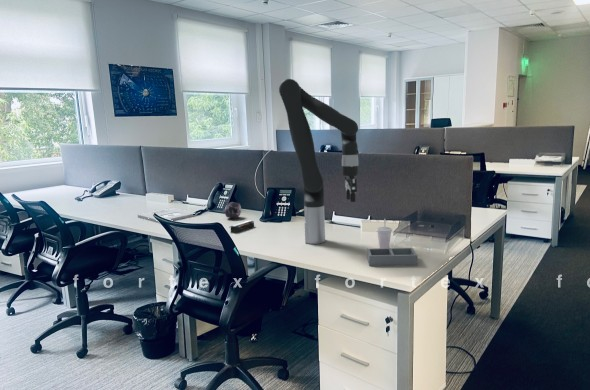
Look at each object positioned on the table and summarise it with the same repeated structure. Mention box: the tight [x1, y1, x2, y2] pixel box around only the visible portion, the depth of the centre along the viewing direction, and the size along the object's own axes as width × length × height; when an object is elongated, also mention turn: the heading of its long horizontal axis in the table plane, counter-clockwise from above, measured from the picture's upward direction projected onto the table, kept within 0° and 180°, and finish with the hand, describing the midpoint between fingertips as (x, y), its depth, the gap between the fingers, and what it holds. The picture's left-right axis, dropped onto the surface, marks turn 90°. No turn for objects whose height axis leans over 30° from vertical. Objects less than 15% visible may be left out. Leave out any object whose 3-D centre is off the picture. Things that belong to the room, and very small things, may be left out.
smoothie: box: [376, 218, 393, 248], centre depth 180 cm, size 6×6×14 cm
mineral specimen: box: [224, 201, 242, 219], centre depth 254 cm, size 10×10×10 cm
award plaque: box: [137, 207, 198, 224], centre depth 268 cm, size 25×30×2 cm
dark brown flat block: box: [228, 219, 255, 234], centre depth 228 cm, size 14×25×4 cm, turn 143°
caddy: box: [366, 247, 418, 267], centre depth 167 cm, size 18×10×4 cm, turn 85°
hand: (350, 200), depth 193 cm, fingers open, 8 cm apart
